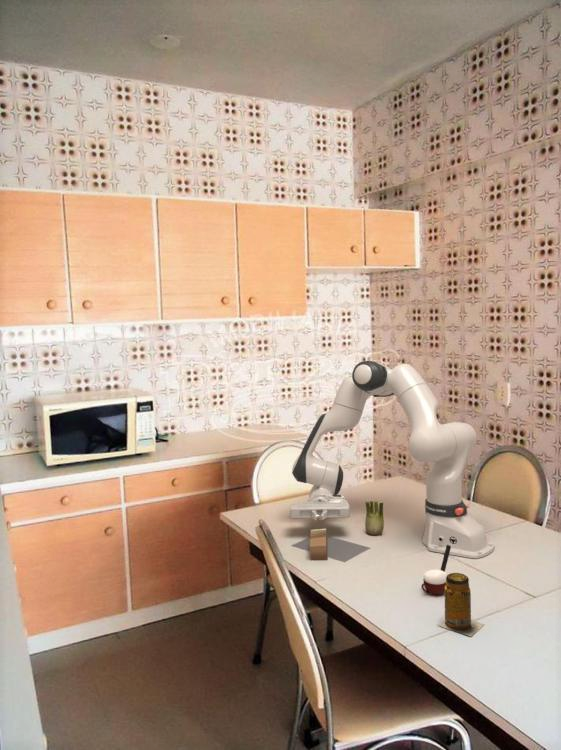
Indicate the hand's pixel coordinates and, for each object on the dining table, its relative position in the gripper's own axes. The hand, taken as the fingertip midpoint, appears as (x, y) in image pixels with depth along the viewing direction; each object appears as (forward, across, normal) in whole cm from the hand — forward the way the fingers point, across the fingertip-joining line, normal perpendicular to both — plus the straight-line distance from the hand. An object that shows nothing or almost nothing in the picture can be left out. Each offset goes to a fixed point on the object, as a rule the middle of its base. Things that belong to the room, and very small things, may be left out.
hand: (319, 518), depth 198 cm
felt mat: (+2, +3, +10) cm, 10 cm away
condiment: (+51, +35, +10) cm, 62 cm away
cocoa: (+33, +32, +10) cm, 47 cm away
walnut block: (+1, 0, +6) cm, 6 cm away
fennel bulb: (-9, +18, +10) cm, 23 cm away
